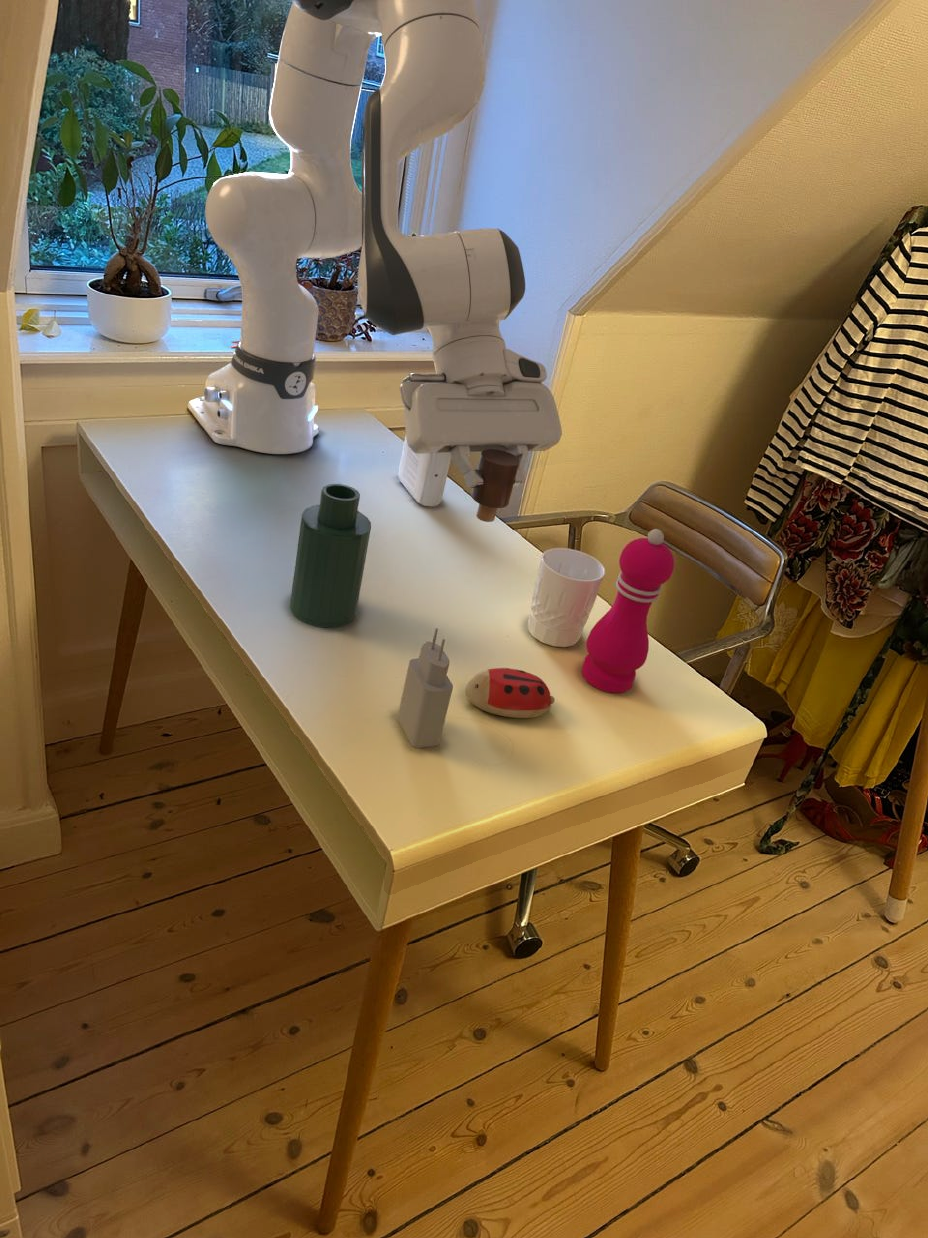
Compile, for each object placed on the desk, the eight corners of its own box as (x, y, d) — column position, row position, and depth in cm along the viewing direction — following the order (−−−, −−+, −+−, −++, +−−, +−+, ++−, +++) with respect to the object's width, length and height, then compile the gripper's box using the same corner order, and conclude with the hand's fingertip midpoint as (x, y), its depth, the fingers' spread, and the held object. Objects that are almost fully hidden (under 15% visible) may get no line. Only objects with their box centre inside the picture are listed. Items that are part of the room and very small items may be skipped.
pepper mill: (634, 703, 112) (690, 553, 102) (574, 685, 113) (624, 534, 102) (637, 670, 118) (690, 525, 108) (580, 653, 119) (627, 508, 108)
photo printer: (444, 507, 146) (461, 430, 140) (418, 507, 144) (434, 429, 138) (418, 476, 154) (433, 403, 147) (393, 476, 152) (407, 401, 145)
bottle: (277, 600, 115) (291, 481, 107) (331, 586, 120) (348, 472, 112) (314, 633, 111) (332, 513, 103) (368, 618, 116) (389, 502, 108)
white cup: (512, 616, 123) (531, 548, 118) (565, 614, 126) (585, 547, 121) (539, 652, 117) (560, 582, 112) (594, 648, 120) (617, 579, 115)
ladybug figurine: (461, 680, 109) (467, 654, 107) (545, 690, 111) (553, 664, 109) (466, 717, 103) (473, 691, 101) (555, 727, 105) (564, 701, 103)
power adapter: (422, 712, 102) (444, 617, 96) (441, 745, 98) (465, 648, 92) (395, 714, 101) (415, 618, 95) (413, 748, 97) (435, 650, 91)
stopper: (459, 511, 117) (473, 451, 113) (486, 506, 120) (500, 446, 116) (484, 529, 114) (500, 467, 110) (511, 523, 117) (527, 463, 113)
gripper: (409, 361, 108) (432, 479, 106) (556, 366, 119) (579, 474, 117) (385, 384, 113) (407, 497, 112) (528, 387, 124) (550, 490, 122)
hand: (496, 485), depth 114 cm, fingers closed on stopper, 4 cm apart
